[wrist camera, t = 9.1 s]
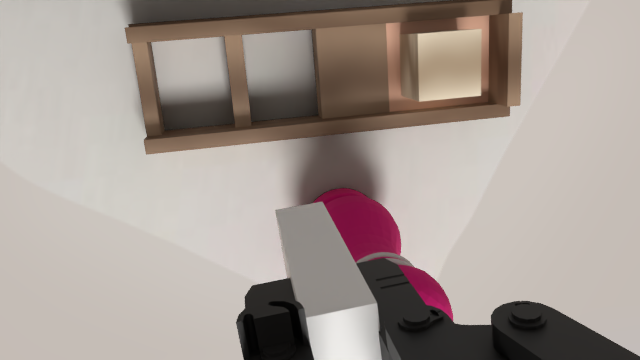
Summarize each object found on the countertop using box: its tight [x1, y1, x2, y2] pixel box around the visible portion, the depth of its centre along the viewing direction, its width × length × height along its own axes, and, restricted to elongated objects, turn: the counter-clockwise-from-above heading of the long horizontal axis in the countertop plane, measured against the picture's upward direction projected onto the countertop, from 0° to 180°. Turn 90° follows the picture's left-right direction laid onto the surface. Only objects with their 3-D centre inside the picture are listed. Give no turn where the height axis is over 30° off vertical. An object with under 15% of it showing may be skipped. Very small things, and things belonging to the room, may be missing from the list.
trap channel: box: [125, 0, 523, 154], centre depth 38 cm, size 9×27×5 cm, turn 95°
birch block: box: [399, 29, 482, 102], centre depth 38 cm, size 4×4×4 cm
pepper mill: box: [313, 188, 453, 321], centre depth 35 cm, size 7×7×20 cm
